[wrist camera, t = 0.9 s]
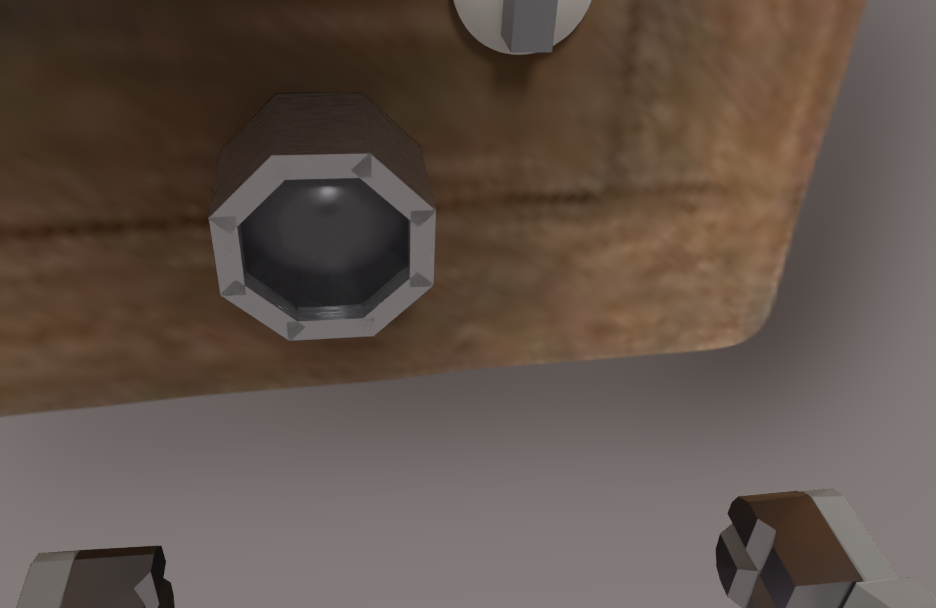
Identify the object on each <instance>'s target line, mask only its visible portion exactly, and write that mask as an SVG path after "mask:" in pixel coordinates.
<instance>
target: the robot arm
mask: <svg viewBox="0 0 936 608" xmlns="http://www.w3.org/2000/svg"><path fill="white" fill-rule="evenodd" d="M728 515H729V517H730V519H731V521H732V524H731V525H730V526H729V527H728V528H726V529H725V530H724V531H723V532H722V533H720V536H719V539H718V543H717V546H716V567H717V570H718V574H719V578H720V581H721V584H722V586H723V588H724V590H725V592H726V595H727V597H729V598H730V599H731V600H733V601H734V602H735V603H737V604H738V605H739V606H741V607H742V608H936V595H935V594H933V593H932V592H930V591H929V590H927V589H925V588H924V587H923V586H921V585H920V584H918V583H916V582H915V581H913V580H912V579H910V578H909V577H907V578H899V577H898V576H897V574H896V573H895V571H894V570H893V568H892V567H891V565H890V564H889V562H888V561H887V560H886V558H885V557H884V555H883V554H882V552H881V551H880V549H879V548H878V546H877V545H876V544H875V542H874V541H873V539H872V538H871V536H870V535H869V533H868V532H867V530H866V529H865V528H864V526H863V525H862V523H861V522H860V520H859V519H858V517H857V516H856V514H855V513H854V512H853V510H852V509H851V507H850V506H849V504H848V503H847V502H846V500H845V498H844V497H843V496H842V494H841V493H839V492H838V491H836V490H835V489H821V490H810V491H801V492H799V491H790V492H780V493H769V494H760V495H749V496H739V497H737V498H736V499H735V500H734V501H733V502H732V503H731V506H730V508H729V511H728ZM165 565H166V560H165V556H164V553H163V549H162V546H145V547H128V548H111V549H92V550H77V551H63V552H49V553H39V554H38V555H37V556H36V558H35V559H34V561H33V562H32V563H31V565H30V567H29V570H28V573H27V576H26V579H25V583H24V585H23V589H22V591H21V594H20V598H19V601H18V604H17V607H16V608H175V606H174V595H173V590H172V585H171V583H170V582H169V581H167V580H166V579H164V578H163V577H164V571H165Z"/></svg>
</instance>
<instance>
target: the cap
mask: <svg viewBox="0 0 936 608" xmlns="http://www.w3.org/2000/svg"><path fill="white" fill-rule="evenodd" d="M453 2H454V5H455V8H456V10H457V12H458V14H459V16H460V19H461V20H462V22H463V24H464V25H465V27H466V28H467V30H468V31H469V32H470V33H471V34H472V35H473V36H474V37H475V38H476V39H477V40H478V41H479V42H481V43H482V44H484V45H485V46H487V47H489V48H491V49H493V50H495V51H498V52H501V53H506V54H513V55H524V54H531V53H536V52H552V49H553V46H554V45H555V44H557V43H558V42H560V41H562V40H563V39H564V38H565V37H566V36H568V35H569V34H570V33H571V32H572V31H573V30H574V29H575V28H576V26H577V25H578V24H579V23H580V21H581V20H582V18H583V17H584V15H585V13H586V12H587V10H588V7H589V5H590V3H591V0H453Z"/></svg>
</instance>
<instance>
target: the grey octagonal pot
mask: <svg viewBox="0 0 936 608" xmlns="http://www.w3.org/2000/svg"><path fill="white" fill-rule="evenodd" d="M436 212H437V211H436V207H435V203H434V199H433V195H432V191H431V187H430V183H429V179H428V175H427V171H426V167H425V163H424V159H423V155H422V151H421V147H420V146H419V145H418V144H417V143H416V142H415V141H414V140H412V139H411V138H410V137H409V136H408V135H407V134H406V133H405V132H404V131H403V130H402V129H401V128H399V127H398V126H397V125H396V124H395V123H394V122H393V121H392V120H391V119H390V118H389V117H387V116H386V115H385V114H384V113H383V112H382V111H381V110H380V109H379V108H378V107H377V106H376V105H374V104H373V103H372V102H371V101H370V100H369V99H368V98H367V97H366V96H365V95H364V94H363V93H312V94H275V96H274V97H273V98H272V99H271V100H270V101H269V102H268V103H267V104H266V105H265V106H264V107H263V108H262V109H261V110H260V111H259V112H258V113H257V114H256V115H255V116H254V117H253V118H252V119H251V120H250V121H249V122H248V123H247V124H246V125H245V126H244V128H243V129H242V130H241V131H240V132H239V133H238V134H237V135H236V136H235V137H234V138H233V139H232V140H231V141H230V142H229V143H228V144H227V145H226V146H225V147H224V148H223V149H221V153H220V158H219V163H218V169H217V174H216V179H215V185H214V190H213V195H212V201H211V206H210V211H209V217H208V219H209V223H210V230H211V236H212V243H213V249H214V256H215V262H216V269H217V276H218V282H219V289H220V295H221V296H222V297H224V298H225V299H227V300H228V301H230V302H231V303H233V304H234V305H236V306H237V307H239V308H240V309H242V310H243V311H245V312H247V313H248V314H250V315H251V316H253V317H254V318H256V319H257V320H259V321H260V322H262V323H263V324H265V325H266V326H268V327H269V328H271V329H272V330H274V331H275V332H277V333H278V334H280V335H281V336H283V337H284V338H286V339H287V340H288V341H294V340H312V339H330V338H348V337H366V336H375V335H376V334H377V333H378V332H379V331H380V330H381V329H383V328H384V327H385V326H386V325H387V324H389V323H390V322H391V321H392V320H393V319H394V318H396V317H397V316H398V315H399V314H400V313H402V312H403V311H404V310H405V309H406V308H407V307H409V306H410V305H411V304H412V303H413V302H414V301H416V300H417V299H418V298H419V297H420V296H422V295H423V294H424V293H425V292H426V291H427V290H429V289H430V288H431V287H432V286H433V285H434V253H435V223H436Z"/></svg>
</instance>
